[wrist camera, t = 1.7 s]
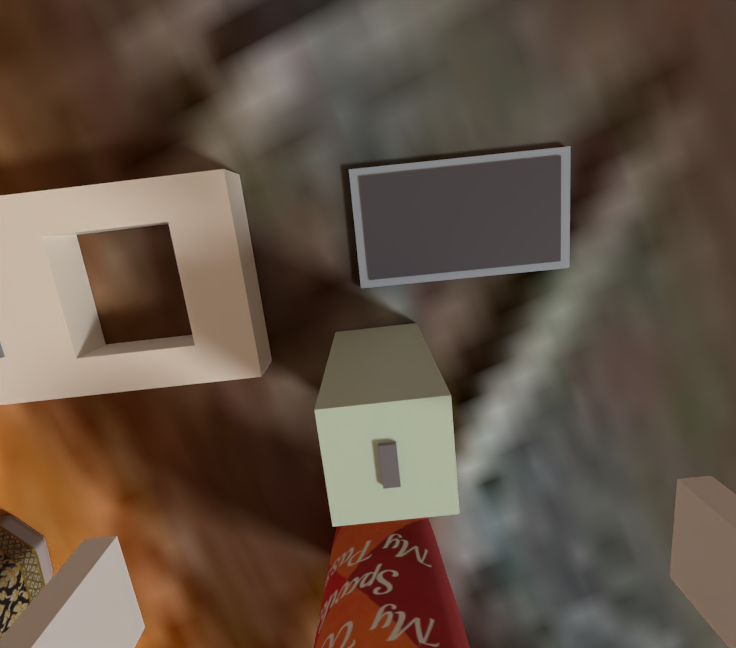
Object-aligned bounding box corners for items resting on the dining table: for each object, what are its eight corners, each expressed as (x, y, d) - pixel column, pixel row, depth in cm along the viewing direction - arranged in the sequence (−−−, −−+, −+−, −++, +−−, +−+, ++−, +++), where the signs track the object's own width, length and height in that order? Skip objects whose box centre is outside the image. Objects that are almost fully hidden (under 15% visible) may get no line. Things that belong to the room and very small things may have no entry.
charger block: (423, 398, 25) (460, 517, 15) (345, 406, 25) (331, 530, 15) (416, 323, 24) (452, 397, 14) (335, 331, 24) (313, 412, 14)
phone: (561, 265, 24) (570, 267, 23) (361, 285, 24) (360, 288, 23) (561, 149, 22) (571, 145, 21) (349, 171, 22) (348, 169, 21)
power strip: (272, 360, 24) (258, 381, 21) (-108, 402, 25) (-174, 427, 22) (239, 174, 22) (219, 167, 19) (-180, 224, 22) (-265, 225, 19)
